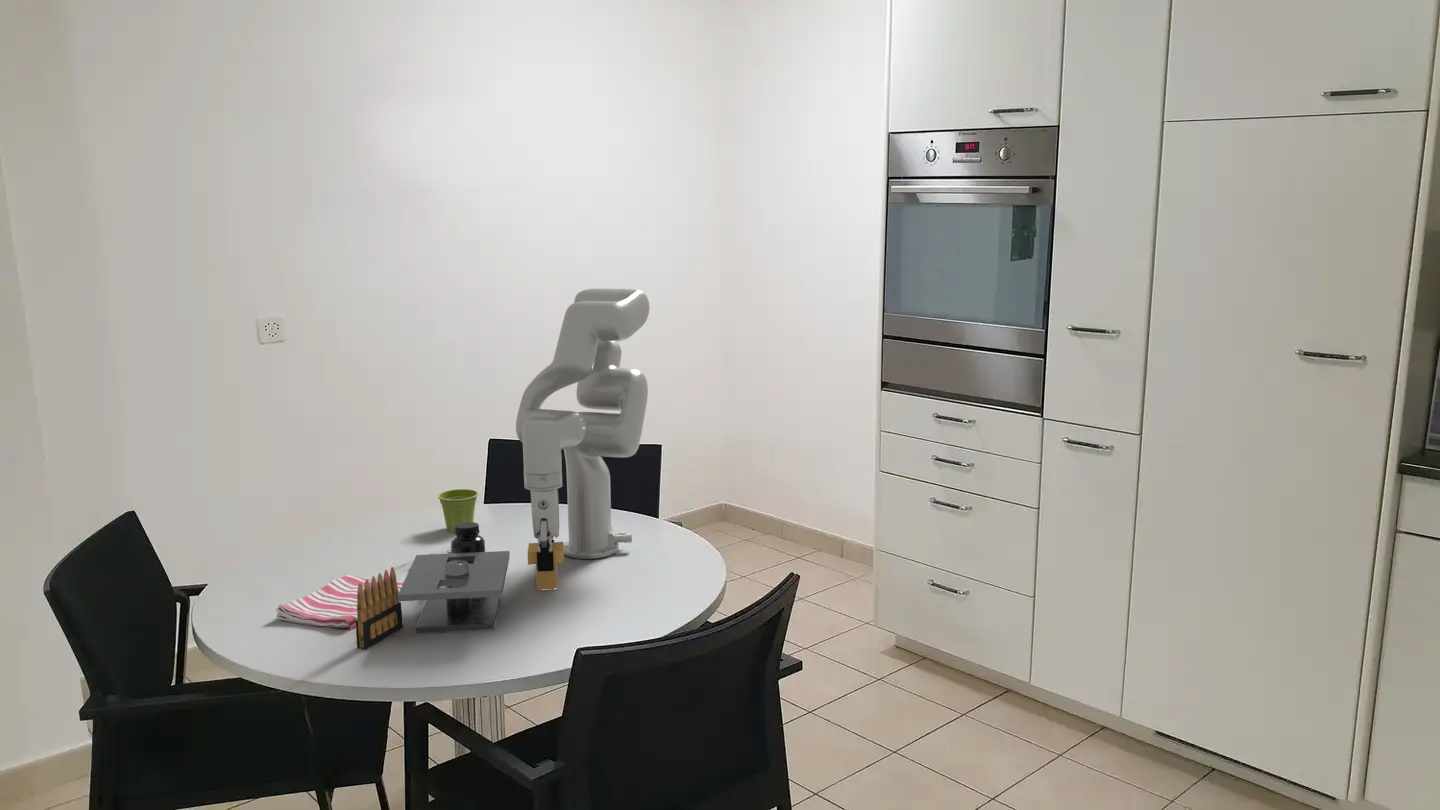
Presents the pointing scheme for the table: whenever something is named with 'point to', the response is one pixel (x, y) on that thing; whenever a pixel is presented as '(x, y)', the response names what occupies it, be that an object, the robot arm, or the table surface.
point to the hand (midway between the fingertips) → (546, 563)
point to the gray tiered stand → (456, 590)
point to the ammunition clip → (378, 610)
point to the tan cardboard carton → (546, 577)
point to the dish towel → (327, 604)
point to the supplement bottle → (467, 539)
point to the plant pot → (458, 506)
